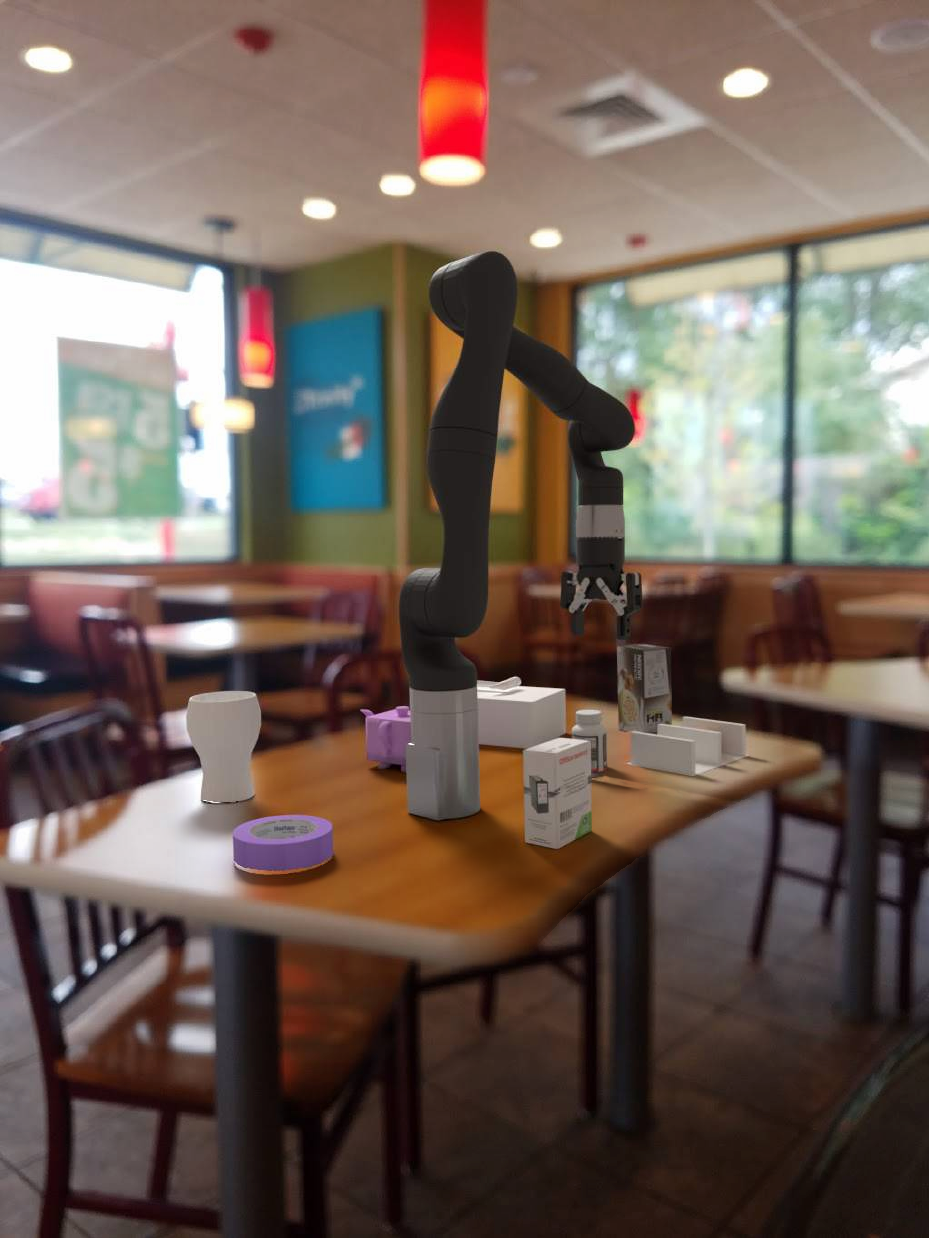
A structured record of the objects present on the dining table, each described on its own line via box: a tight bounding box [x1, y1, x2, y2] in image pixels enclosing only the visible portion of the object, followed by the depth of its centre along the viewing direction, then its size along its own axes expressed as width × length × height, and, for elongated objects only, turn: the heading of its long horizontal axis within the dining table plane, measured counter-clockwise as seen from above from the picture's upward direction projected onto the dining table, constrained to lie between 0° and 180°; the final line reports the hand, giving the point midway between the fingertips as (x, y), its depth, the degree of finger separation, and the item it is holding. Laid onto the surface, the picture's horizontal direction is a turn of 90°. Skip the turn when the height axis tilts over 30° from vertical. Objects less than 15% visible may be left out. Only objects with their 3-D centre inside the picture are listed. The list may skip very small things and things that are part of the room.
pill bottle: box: [571, 709, 608, 778], centre depth 149 cm, size 5×5×10 cm
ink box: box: [522, 737, 593, 850], centre depth 119 cm, size 9×5×12 cm, turn 142°
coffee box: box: [616, 643, 673, 734], centre depth 179 cm, size 9×6×16 cm
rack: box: [626, 716, 750, 777], centre depth 153 cm, size 17×12×6 cm
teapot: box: [360, 705, 411, 773], centre depth 158 cm, size 18×13×10 cm
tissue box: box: [477, 676, 567, 749], centre depth 180 cm, size 14×25×11 cm, turn 61°
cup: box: [185, 690, 262, 803], centre depth 141 cm, size 11×11×15 cm
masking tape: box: [232, 814, 334, 871], centre depth 114 cm, size 12×12×4 cm
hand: (600, 637), depth 152 cm, fingers open, 8 cm apart
